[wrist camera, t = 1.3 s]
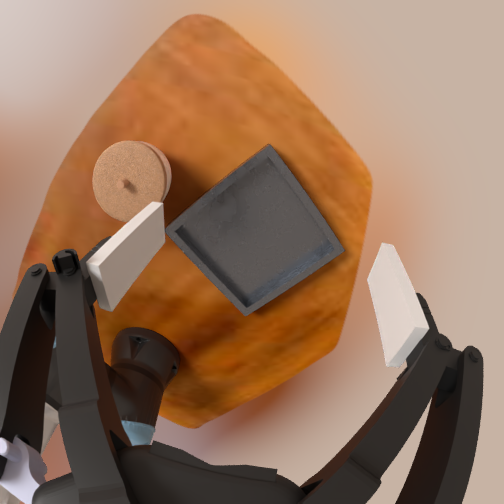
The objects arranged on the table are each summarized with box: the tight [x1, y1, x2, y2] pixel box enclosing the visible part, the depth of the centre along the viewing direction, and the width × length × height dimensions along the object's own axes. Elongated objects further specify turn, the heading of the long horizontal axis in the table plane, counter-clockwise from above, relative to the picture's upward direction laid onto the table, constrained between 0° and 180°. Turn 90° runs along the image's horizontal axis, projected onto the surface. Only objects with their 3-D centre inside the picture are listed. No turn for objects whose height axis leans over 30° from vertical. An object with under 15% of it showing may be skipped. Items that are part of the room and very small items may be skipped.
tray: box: [164, 144, 345, 316], centre depth 41 cm, size 19×19×3 cm
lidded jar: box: [93, 141, 172, 222], centre depth 34 cm, size 11×11×9 cm
